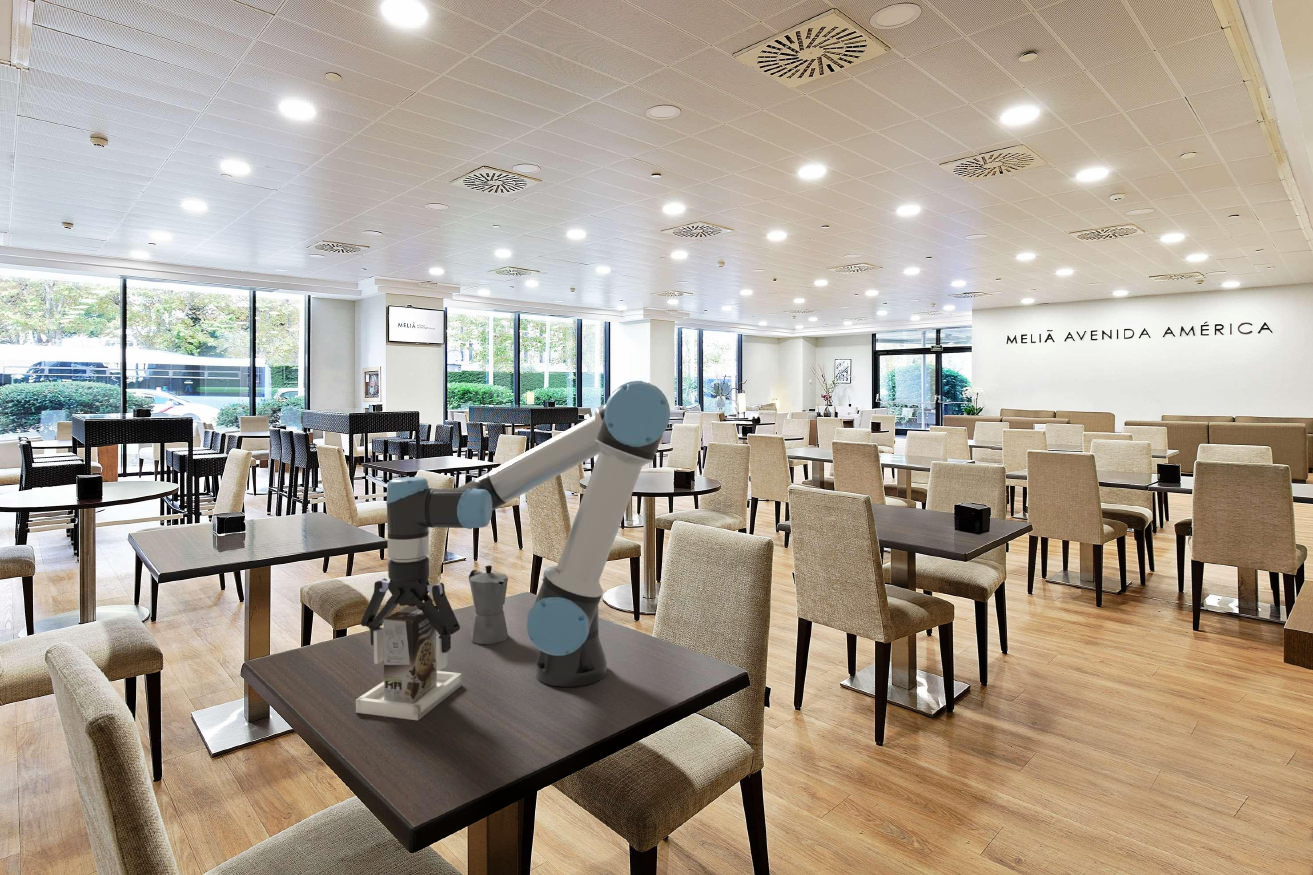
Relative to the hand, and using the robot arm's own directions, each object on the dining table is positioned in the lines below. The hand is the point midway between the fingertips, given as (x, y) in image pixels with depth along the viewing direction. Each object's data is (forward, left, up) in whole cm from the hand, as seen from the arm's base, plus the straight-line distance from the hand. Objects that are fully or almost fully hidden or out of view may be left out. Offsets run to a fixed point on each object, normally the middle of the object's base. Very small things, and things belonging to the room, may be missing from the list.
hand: (410, 664), depth 138 cm
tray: (0, 0, -7) cm, 7 cm away
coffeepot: (+2, -36, -7) cm, 36 cm away
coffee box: (0, 0, -6) cm, 6 cm away
